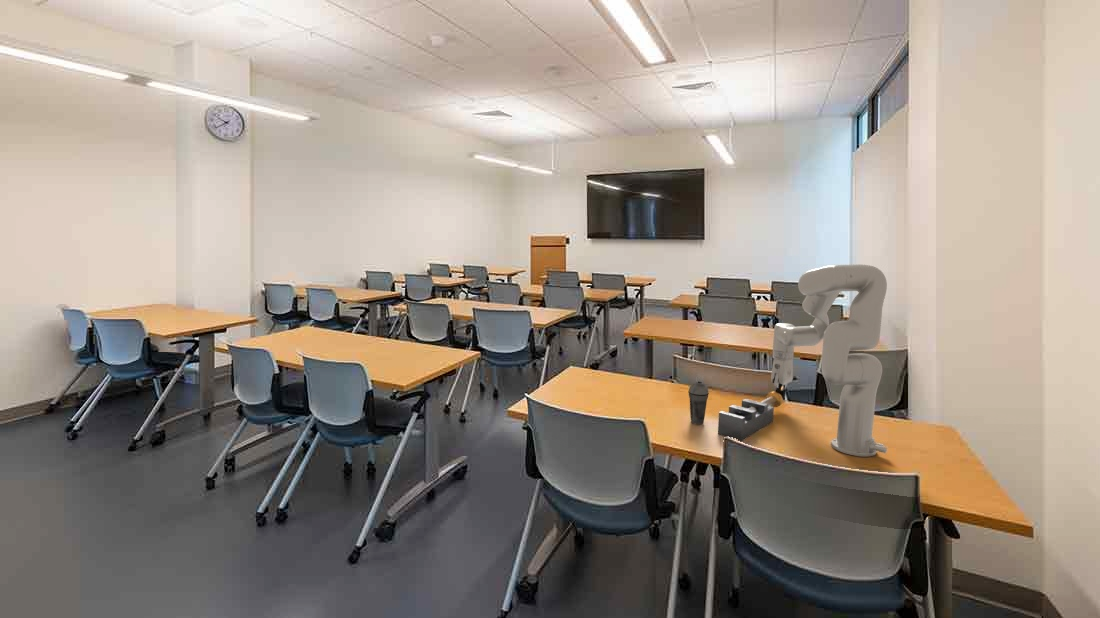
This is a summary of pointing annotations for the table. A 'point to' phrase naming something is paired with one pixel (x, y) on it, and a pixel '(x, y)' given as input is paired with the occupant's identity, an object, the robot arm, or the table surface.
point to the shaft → (770, 401)
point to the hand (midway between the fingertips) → (779, 399)
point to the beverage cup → (698, 401)
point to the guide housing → (744, 419)
